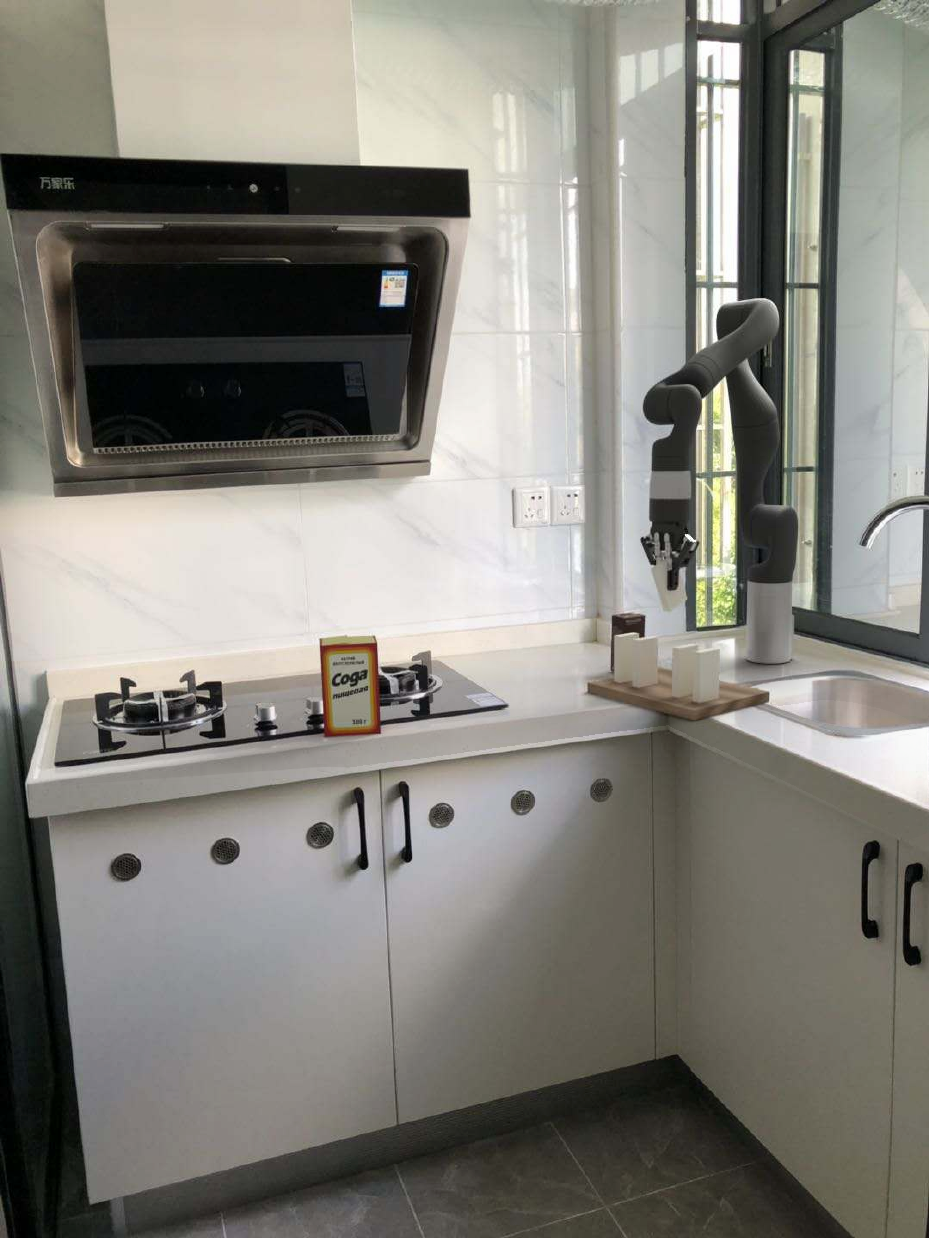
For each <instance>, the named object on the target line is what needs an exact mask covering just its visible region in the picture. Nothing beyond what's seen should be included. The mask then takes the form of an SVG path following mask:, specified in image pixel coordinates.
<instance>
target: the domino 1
mask: <svg viewBox="0 0 929 1238" xmlns="http://www.w3.org/2000/svg"><path fill="white" fill-rule="evenodd" d="M638 638H639V633H634V632H632V633H627V634H621V635H615V636H614V672H613V673H614V674H613V675H614V676H613V677H614V682H618V683H622V682H627V681H632V680H633V639H638Z"/></svg>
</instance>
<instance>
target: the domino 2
mask: <svg viewBox="0 0 929 1238" xmlns="http://www.w3.org/2000/svg"><path fill="white" fill-rule="evenodd" d="M658 652H659V637H658V636H655V635H650V636H645V637H643V638H638V639H633V686H634V687H638V688H640V687H644V686H649V685H653V684H658V668H659V663H658V662H659V653H658Z"/></svg>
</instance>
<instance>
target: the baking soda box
mask: <svg viewBox="0 0 929 1238" xmlns="http://www.w3.org/2000/svg"><path fill="white" fill-rule="evenodd" d="M378 649H379V648H378V642H377V638H376V635H360V636H359V635H355V636H354V635H353V636H348V635H339V636H338V635H336V636H330V637H329V636H328V637H320V638H319V654H320V655H319V656H320V657H319V659H320V675H321V677H320V678H321V693H322V694H321V698H322V715H323V716H322V717H323V733H324V734H323V736H324V738H329V737H330V738H334V737H348V736H362V735H377V734H378V735H379V734H382V725H381V702H380V701H381V699H380V696H381V695H380V675H379V674H380V673H379V655H378V653H379V652H378V651H379V650H378Z"/></svg>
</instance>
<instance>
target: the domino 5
mask: <svg viewBox="0 0 929 1238" xmlns="http://www.w3.org/2000/svg"><path fill="white" fill-rule="evenodd" d="M720 664H721V649H720V648H717V647H709V648H705V649H700V650H699V649H698V651H694V658H693V701H694V702H698V703H702V702H706V701H710V700H715V699H719V680H720V671H721V670H720V668H721V667H720Z"/></svg>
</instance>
